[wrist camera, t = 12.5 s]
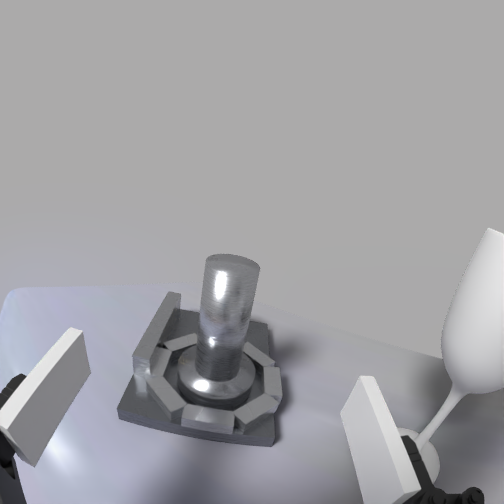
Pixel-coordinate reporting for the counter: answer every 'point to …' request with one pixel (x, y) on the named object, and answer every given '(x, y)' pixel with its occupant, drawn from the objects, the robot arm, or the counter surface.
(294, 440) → the counter surface
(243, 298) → the flanged metal post
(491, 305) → the wineglass
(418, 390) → the counter surface
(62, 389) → the robot arm
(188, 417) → the carrier plate
